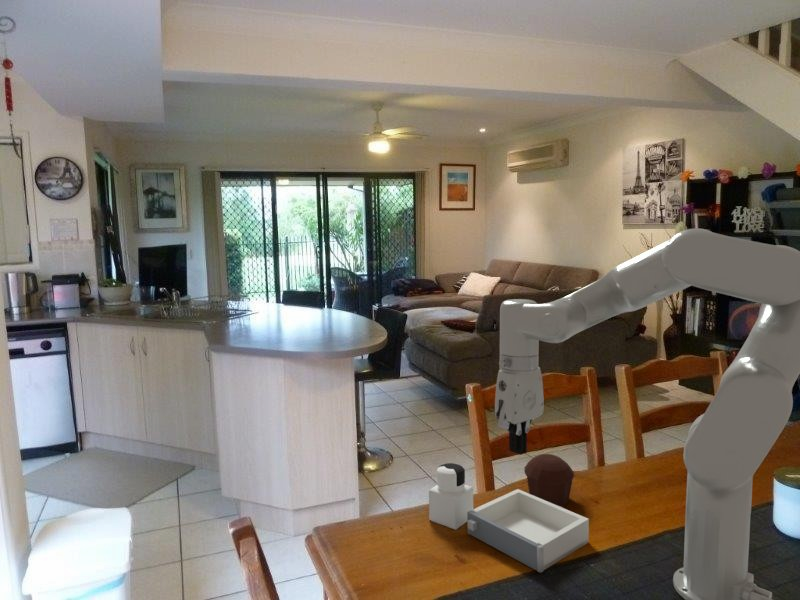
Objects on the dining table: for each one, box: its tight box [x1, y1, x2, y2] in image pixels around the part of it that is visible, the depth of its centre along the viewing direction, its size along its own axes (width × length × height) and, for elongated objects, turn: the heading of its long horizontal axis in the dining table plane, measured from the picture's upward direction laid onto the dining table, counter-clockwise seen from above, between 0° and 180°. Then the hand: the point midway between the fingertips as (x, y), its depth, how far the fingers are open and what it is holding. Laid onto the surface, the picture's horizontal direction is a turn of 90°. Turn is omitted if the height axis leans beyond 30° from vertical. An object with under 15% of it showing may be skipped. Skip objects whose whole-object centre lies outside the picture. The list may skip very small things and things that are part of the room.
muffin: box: [523, 453, 575, 507], centre depth 132 cm, size 12×11×10 cm
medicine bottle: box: [428, 462, 474, 531], centre depth 124 cm, size 7×7×12 cm
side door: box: [467, 511, 545, 573], centre depth 110 cm, size 19×2×5 cm, turn 39°
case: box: [472, 488, 590, 571], centre depth 116 cm, size 18×15×5 cm
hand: (517, 451), depth 114 cm, fingers closed
